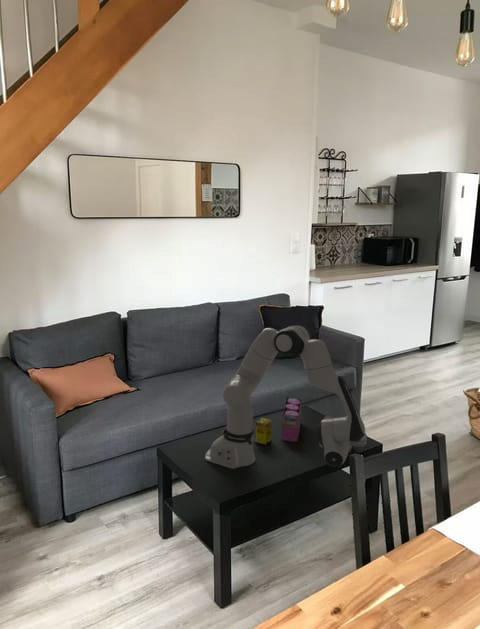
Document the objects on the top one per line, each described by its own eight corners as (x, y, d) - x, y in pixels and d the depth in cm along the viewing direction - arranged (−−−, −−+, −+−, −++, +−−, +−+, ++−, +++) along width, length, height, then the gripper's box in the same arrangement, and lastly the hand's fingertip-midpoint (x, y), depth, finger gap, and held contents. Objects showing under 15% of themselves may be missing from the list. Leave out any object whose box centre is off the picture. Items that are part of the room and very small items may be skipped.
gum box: (285, 420, 270) (286, 396, 267) (300, 422, 269) (301, 397, 266) (281, 440, 247) (282, 414, 244) (298, 442, 246) (299, 415, 243)
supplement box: (265, 446, 241) (266, 424, 238) (254, 443, 244) (255, 421, 241) (271, 441, 246) (272, 420, 243) (260, 438, 249) (261, 417, 246)
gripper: (365, 438, 209) (369, 425, 221) (316, 432, 215) (322, 419, 228) (365, 453, 210) (368, 439, 223) (315, 445, 217) (321, 432, 229)
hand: (344, 429), depth 225 cm, fingers open, 8 cm apart
